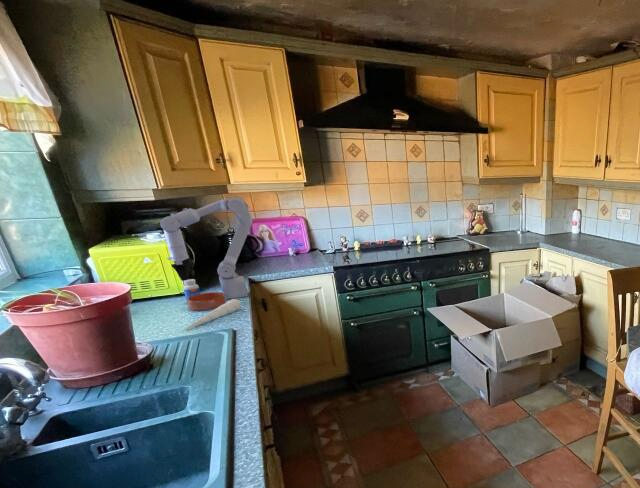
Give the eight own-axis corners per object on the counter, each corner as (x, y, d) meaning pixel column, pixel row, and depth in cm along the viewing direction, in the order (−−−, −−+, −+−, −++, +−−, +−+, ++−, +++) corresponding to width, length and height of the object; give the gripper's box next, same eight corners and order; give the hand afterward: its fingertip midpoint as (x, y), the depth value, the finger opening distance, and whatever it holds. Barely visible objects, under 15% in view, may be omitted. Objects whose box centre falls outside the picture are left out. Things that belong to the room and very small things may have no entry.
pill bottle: (194, 304, 178) (188, 282, 175) (184, 303, 179) (177, 281, 176) (205, 300, 183) (199, 278, 180) (195, 299, 184) (189, 278, 181)
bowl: (226, 299, 184) (224, 290, 183) (226, 307, 174) (224, 298, 173) (190, 304, 178) (187, 295, 176) (188, 313, 168) (185, 303, 166)
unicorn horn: (177, 329, 151) (173, 317, 150) (234, 309, 173) (231, 297, 171) (187, 330, 150) (183, 318, 149) (243, 310, 172) (240, 298, 170)
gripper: (166, 244, 178) (175, 275, 182) (162, 250, 166) (171, 283, 171) (186, 242, 181) (194, 273, 186) (184, 248, 170) (193, 281, 174)
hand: (185, 278), depth 179 cm, fingers open, 7 cm apart
